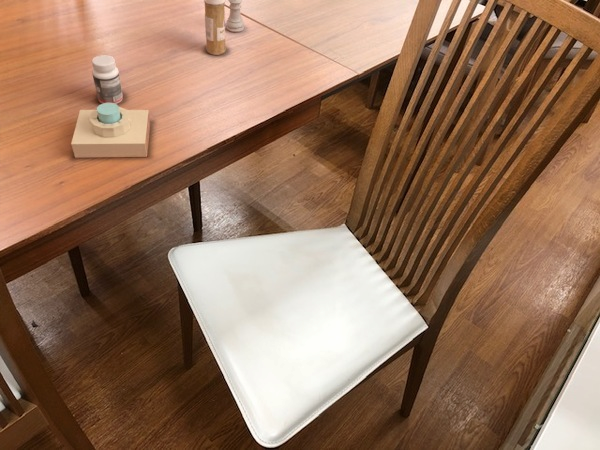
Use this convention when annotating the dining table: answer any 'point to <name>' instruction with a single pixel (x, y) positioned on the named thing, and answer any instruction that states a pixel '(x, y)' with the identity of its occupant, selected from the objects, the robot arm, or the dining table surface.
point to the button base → (111, 135)
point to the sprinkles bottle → (215, 26)
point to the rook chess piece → (235, 17)
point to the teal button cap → (108, 113)
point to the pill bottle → (107, 79)
